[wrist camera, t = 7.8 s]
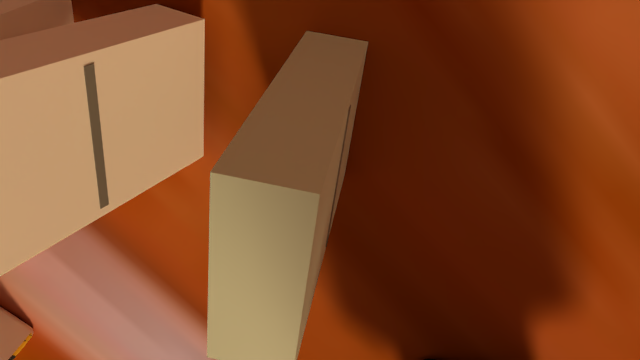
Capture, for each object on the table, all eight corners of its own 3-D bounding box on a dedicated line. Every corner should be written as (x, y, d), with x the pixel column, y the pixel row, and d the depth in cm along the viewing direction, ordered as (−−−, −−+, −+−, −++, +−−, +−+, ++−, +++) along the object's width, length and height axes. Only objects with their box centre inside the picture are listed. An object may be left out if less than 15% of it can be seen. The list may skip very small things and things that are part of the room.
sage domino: (369, 41, 17) (321, 194, 9) (345, 174, 20) (293, 376, 12) (305, 30, 17) (208, 171, 10) (290, 163, 20) (205, 356, 12)
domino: (205, 19, 17) (-112, 111, 10) (204, 156, 19) (-47, 304, 13) (155, 3, 18) (-172, 79, 11) (161, 137, 20) (-99, 268, 13)
